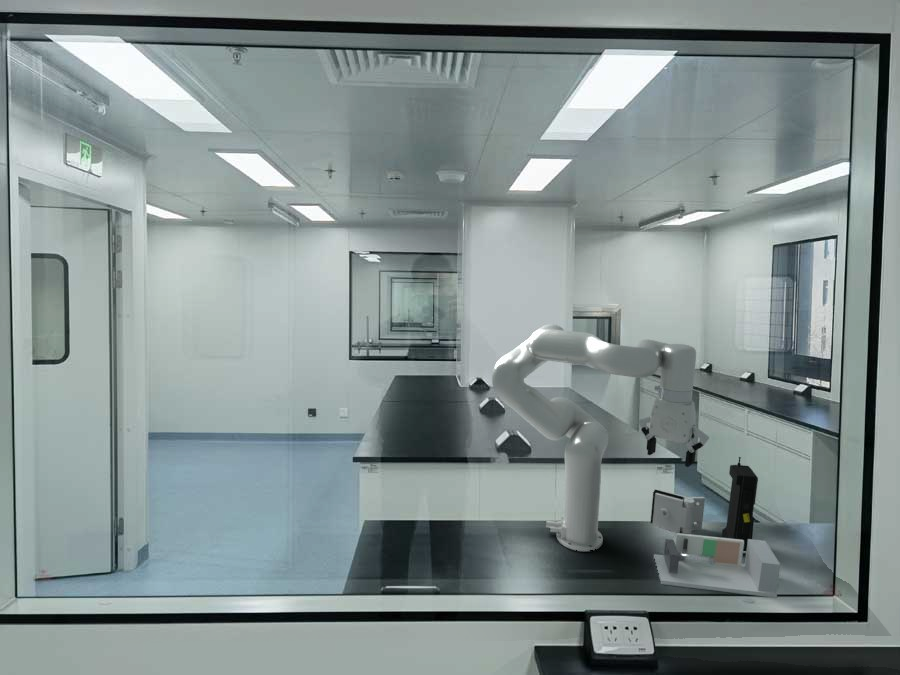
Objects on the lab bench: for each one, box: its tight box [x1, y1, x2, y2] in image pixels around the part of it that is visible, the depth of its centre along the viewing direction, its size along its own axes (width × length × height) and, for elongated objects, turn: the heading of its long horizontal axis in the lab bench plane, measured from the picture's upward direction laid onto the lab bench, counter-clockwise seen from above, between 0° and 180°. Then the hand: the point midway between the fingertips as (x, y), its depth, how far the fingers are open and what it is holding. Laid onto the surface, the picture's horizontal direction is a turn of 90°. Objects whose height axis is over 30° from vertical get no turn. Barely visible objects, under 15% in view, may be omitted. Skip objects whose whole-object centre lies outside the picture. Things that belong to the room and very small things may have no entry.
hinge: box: [650, 488, 706, 535], centre depth 159 cm, size 14×5×10 cm, turn 69°
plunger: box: [663, 538, 715, 574], centre depth 138 cm, size 11×7×6 cm, turn 79°
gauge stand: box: [653, 532, 781, 599], centre depth 137 cm, size 26×11×8 cm, turn 79°
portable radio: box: [721, 456, 759, 551], centre depth 148 cm, size 8×6×25 cm
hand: (669, 459), depth 139 cm, fingers open, 9 cm apart
